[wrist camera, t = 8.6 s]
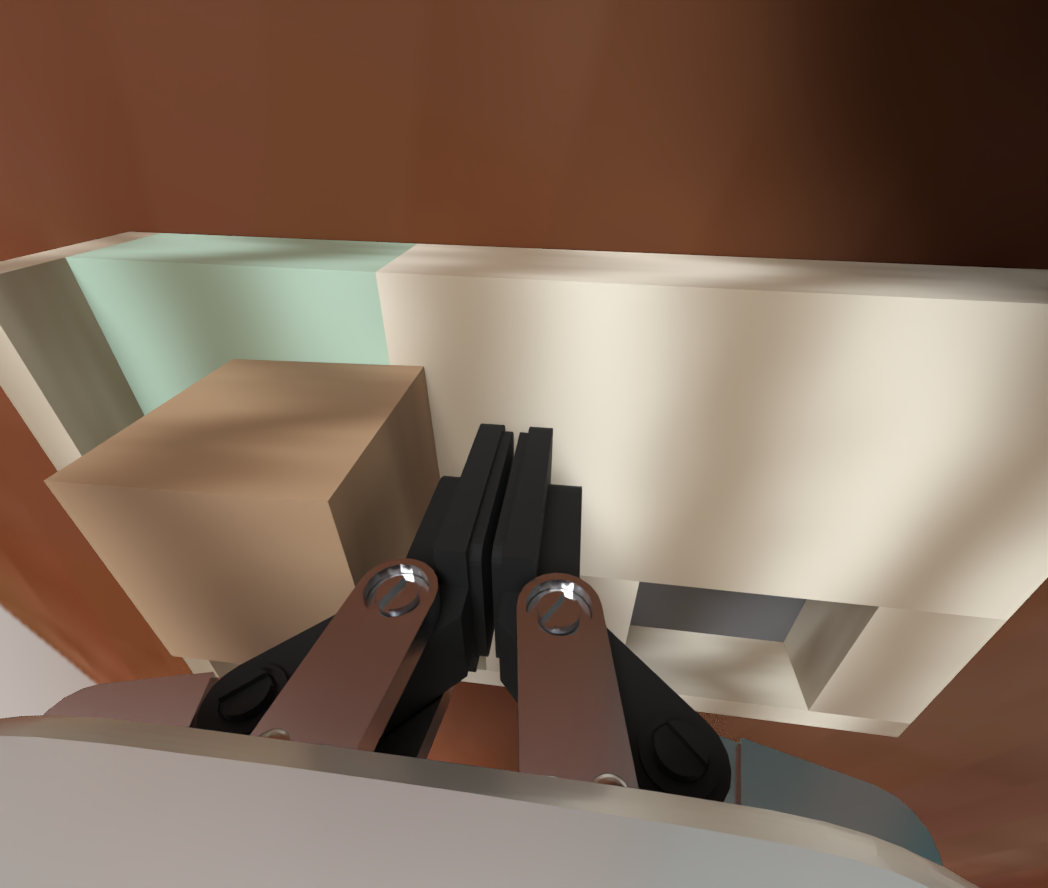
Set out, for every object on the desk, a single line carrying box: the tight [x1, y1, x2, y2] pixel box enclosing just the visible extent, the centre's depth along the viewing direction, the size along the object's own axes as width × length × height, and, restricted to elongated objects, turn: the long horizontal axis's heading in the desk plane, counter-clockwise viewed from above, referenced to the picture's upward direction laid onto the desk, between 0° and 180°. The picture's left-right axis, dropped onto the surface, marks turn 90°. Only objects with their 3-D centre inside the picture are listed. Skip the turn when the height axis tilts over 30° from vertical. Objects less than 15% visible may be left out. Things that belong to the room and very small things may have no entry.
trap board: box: [0, 232, 1048, 737], centre depth 15 cm, size 26×16×5 cm, turn 89°
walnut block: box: [44, 359, 440, 664], centre depth 11 cm, size 5×5×5 cm
